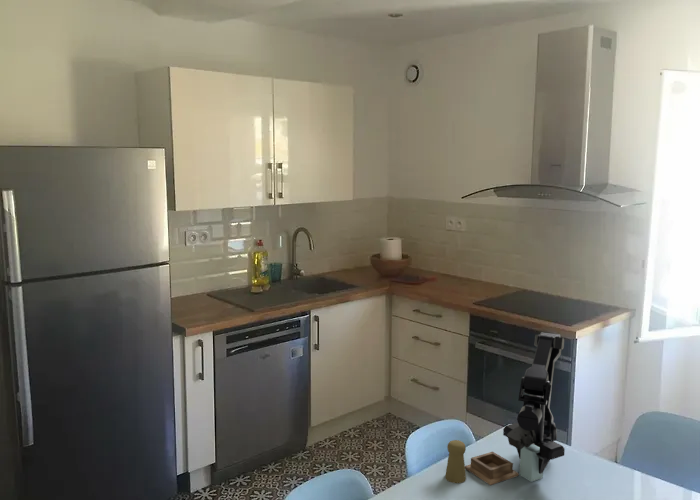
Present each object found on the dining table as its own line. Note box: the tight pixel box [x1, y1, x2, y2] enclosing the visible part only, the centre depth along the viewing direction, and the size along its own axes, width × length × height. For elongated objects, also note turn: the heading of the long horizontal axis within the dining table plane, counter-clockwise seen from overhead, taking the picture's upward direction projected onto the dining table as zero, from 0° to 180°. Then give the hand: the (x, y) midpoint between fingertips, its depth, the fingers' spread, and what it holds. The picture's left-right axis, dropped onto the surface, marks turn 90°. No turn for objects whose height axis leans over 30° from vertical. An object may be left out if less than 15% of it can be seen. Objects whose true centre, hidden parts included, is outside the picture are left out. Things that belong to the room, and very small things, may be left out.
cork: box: [444, 439, 467, 484], centre depth 176 cm, size 6×6×11 cm
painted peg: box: [519, 444, 544, 483], centre depth 177 cm, size 5×5×9 cm
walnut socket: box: [465, 451, 520, 486], centre depth 180 cm, size 11×11×4 cm
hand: (531, 468), depth 177 cm, fingers open, 7 cm apart
